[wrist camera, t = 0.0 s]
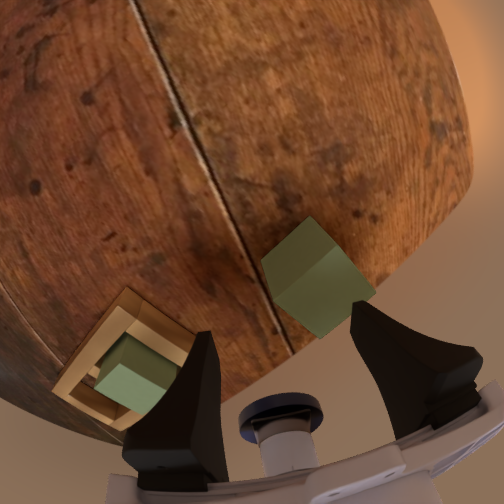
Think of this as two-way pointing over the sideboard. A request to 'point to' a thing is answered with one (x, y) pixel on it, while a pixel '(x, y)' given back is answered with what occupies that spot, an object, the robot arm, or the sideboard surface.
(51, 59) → the sideboard surface
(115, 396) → the green cubic block
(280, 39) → the sideboard surface
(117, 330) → the backing frame
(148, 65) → the sideboard surface
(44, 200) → the sideboard surface
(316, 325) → the olive green cubic block
